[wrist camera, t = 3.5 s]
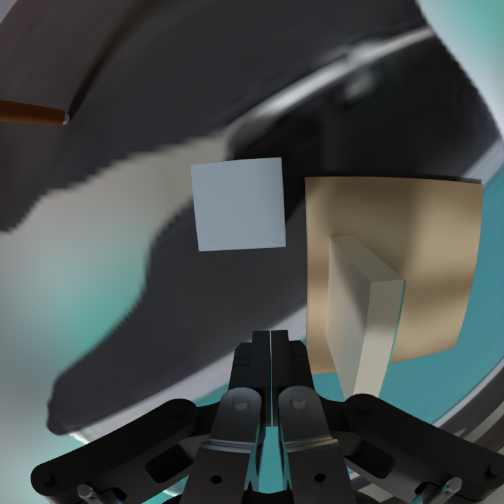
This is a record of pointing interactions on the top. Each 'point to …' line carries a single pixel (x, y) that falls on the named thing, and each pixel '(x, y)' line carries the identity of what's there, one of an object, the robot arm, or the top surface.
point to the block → (239, 204)
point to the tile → (361, 315)
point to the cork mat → (397, 253)
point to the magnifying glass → (31, 114)
